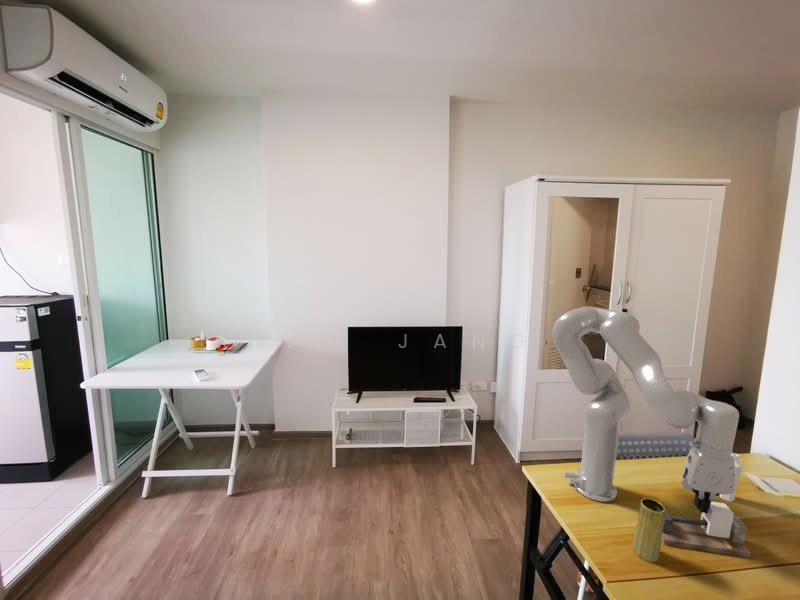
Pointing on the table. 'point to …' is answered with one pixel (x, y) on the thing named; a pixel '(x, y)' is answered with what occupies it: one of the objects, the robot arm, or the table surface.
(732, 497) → the perfume bottle
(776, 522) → the table surface
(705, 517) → the notched white rod block
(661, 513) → the vase
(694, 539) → the linear slide rail
